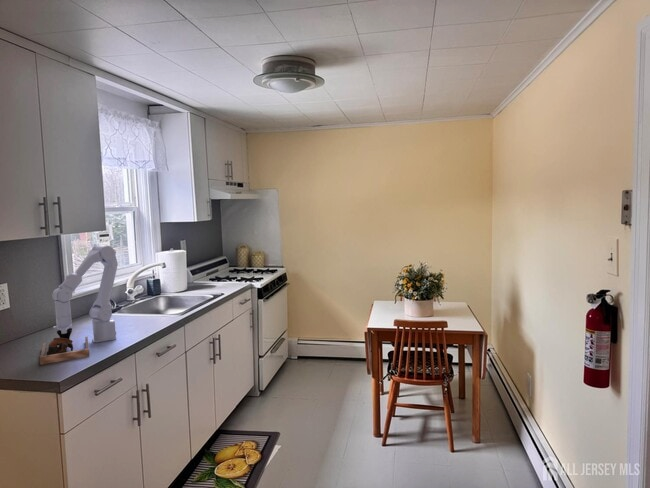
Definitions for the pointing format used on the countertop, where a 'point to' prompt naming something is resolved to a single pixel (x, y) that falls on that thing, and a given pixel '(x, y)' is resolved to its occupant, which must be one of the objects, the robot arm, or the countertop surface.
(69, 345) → the brown jagged ring
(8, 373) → the countertop surface
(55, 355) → the wooden bracket
